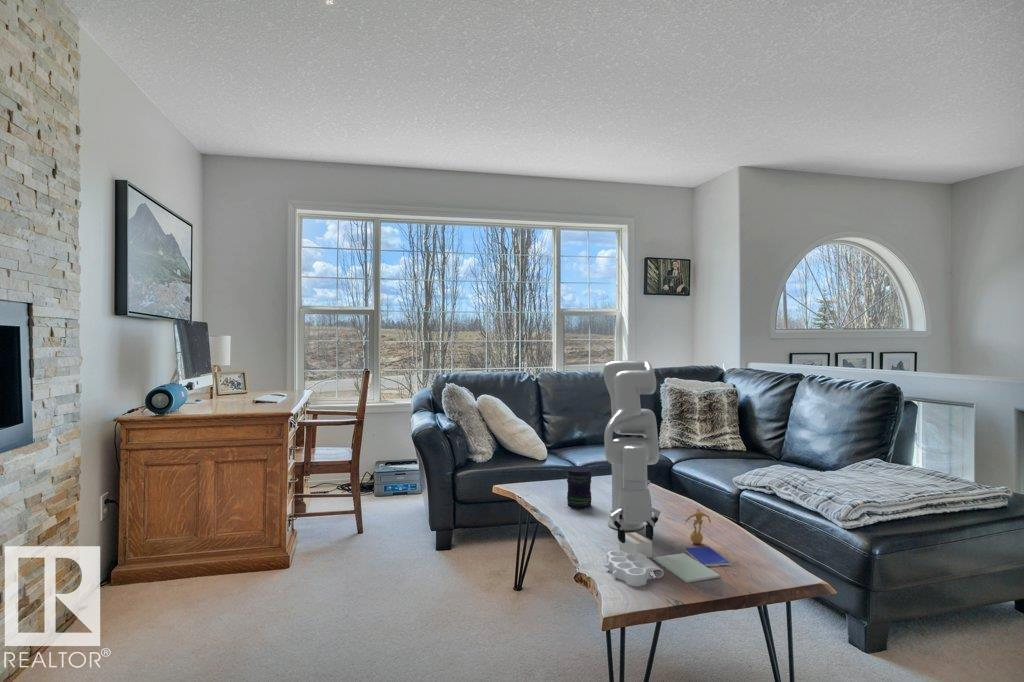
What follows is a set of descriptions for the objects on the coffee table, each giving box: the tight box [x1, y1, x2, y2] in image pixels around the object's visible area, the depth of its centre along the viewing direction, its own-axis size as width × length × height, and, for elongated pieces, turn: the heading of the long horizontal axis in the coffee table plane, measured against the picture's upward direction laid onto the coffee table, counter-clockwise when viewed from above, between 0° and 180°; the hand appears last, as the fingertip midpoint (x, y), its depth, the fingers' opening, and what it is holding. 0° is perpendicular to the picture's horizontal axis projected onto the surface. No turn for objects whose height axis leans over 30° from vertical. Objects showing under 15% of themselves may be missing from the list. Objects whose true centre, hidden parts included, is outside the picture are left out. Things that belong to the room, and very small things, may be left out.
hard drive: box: [685, 546, 731, 567], centre depth 167 cm, size 2×8×12 cm
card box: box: [618, 531, 653, 558], centre depth 171 cm, size 9×6×5 cm, turn 21°
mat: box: [652, 552, 721, 584], centre depth 159 cm, size 17×11×1 cm, turn 17°
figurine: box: [685, 508, 712, 545], centre depth 178 cm, size 8×6×12 cm
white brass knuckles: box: [603, 550, 665, 587], centre depth 157 cm, size 3×18×15 cm
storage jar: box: [566, 465, 592, 510], centre depth 221 cm, size 10×10×15 cm
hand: (635, 540), depth 170 cm, fingers open, 9 cm apart
